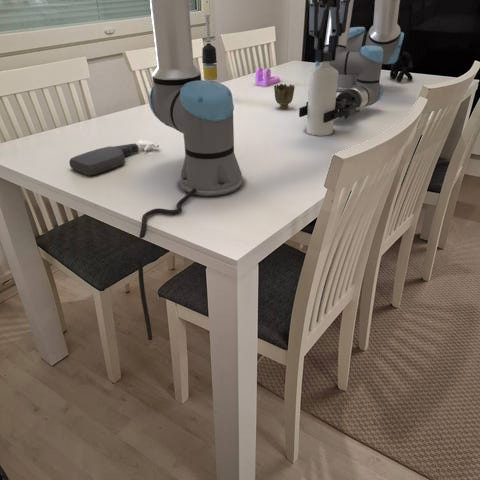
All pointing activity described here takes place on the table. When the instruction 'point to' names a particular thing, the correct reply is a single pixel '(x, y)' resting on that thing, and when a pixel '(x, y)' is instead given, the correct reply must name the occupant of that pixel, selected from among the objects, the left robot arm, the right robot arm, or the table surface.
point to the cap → (327, 56)
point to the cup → (284, 95)
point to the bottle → (321, 98)
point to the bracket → (265, 77)
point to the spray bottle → (106, 157)
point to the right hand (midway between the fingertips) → (312, 115)
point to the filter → (209, 57)
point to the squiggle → (401, 67)
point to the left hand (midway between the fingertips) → (325, 60)
